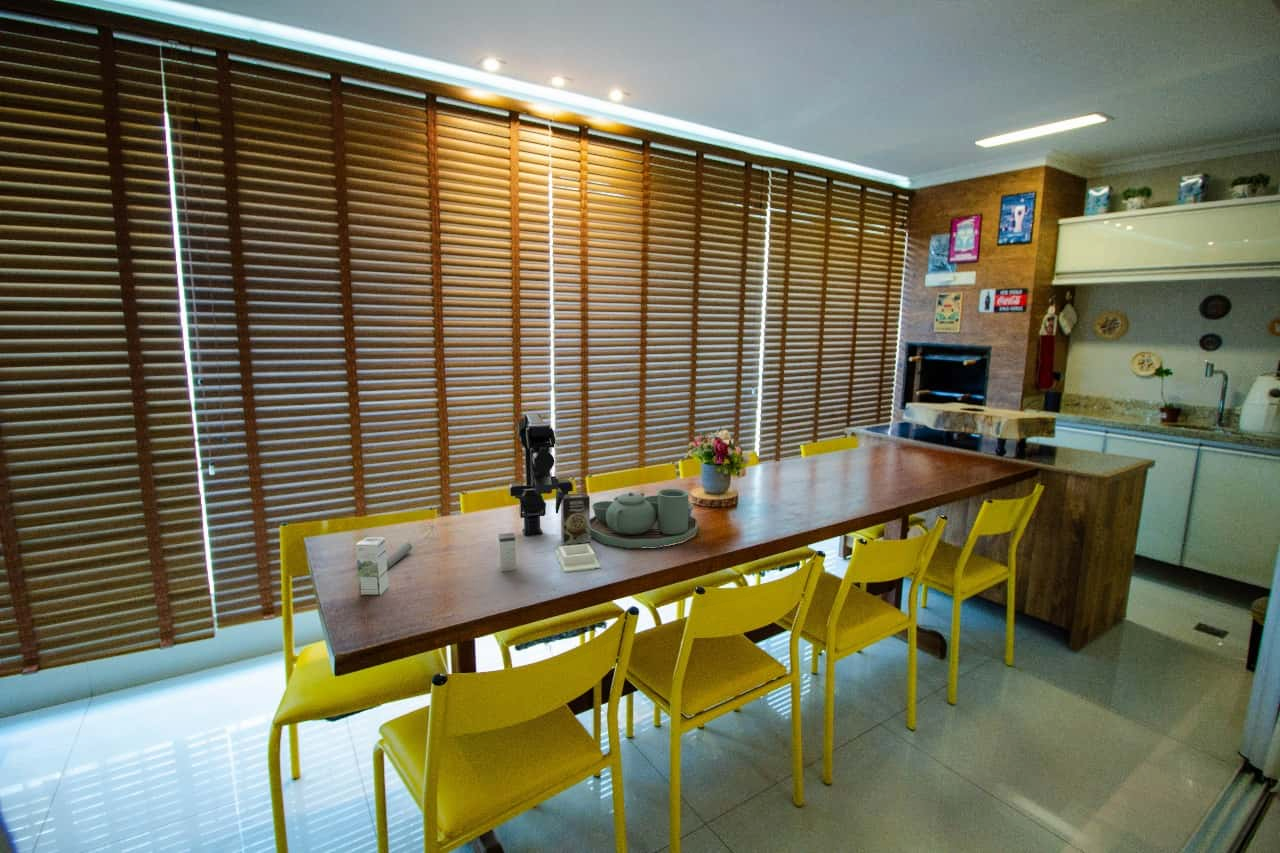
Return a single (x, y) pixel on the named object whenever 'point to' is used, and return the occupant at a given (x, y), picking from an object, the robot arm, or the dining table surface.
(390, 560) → the kitchen whisk
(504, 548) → the grey tall block
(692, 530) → the tea set
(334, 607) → the dining table surface
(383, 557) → the syrup box
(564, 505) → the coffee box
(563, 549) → the collar holder
